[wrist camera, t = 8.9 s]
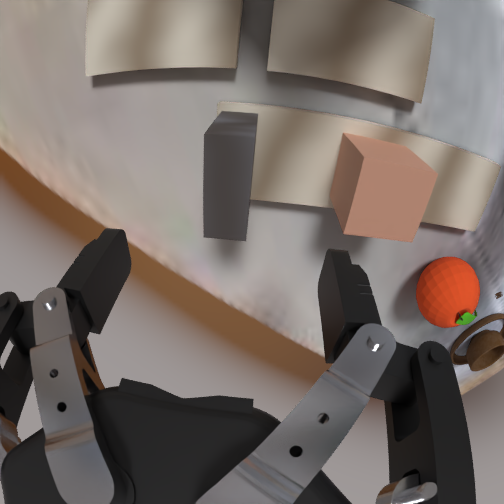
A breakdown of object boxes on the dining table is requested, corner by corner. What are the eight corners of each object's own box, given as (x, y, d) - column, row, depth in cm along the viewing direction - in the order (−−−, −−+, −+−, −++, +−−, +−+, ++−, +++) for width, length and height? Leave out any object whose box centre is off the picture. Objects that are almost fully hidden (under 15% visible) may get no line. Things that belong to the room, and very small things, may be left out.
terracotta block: (406, 146, 19) (438, 173, 15) (388, 205, 22) (412, 242, 18) (342, 132, 18) (364, 156, 14) (329, 196, 21) (343, 233, 18)
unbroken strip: (494, 161, 19) (542, 200, 13) (469, 225, 23) (505, 273, 18) (219, 101, 18) (198, 124, 13) (216, 190, 23) (198, 244, 17)
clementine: (477, 257, 26) (506, 303, 20) (440, 300, 30) (462, 347, 24) (434, 232, 24) (467, 284, 19) (394, 283, 28) (415, 338, 23)
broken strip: (428, 19, 13) (434, 18, 12) (415, 101, 17) (421, 103, 17) (95, -7, 13) (88, -8, 12) (92, 75, 17) (85, 76, 16)
